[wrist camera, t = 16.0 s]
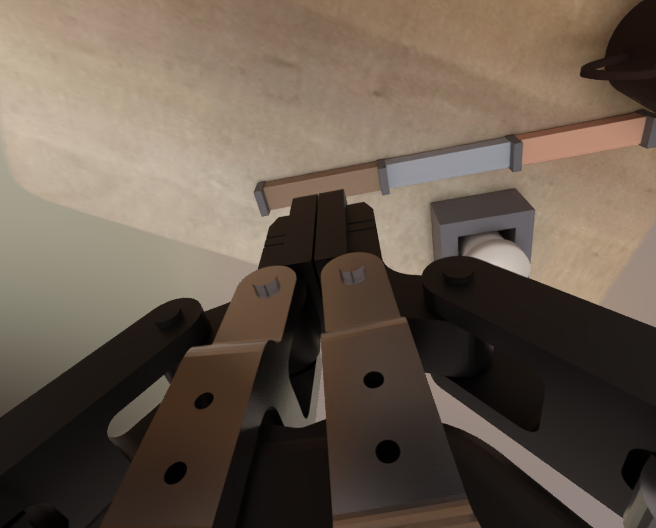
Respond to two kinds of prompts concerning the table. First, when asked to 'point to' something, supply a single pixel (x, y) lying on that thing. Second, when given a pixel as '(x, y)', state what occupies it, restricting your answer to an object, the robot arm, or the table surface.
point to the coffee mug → (631, 56)
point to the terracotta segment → (583, 138)
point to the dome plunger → (495, 251)
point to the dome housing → (482, 220)
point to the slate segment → (444, 163)
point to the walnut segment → (317, 185)
